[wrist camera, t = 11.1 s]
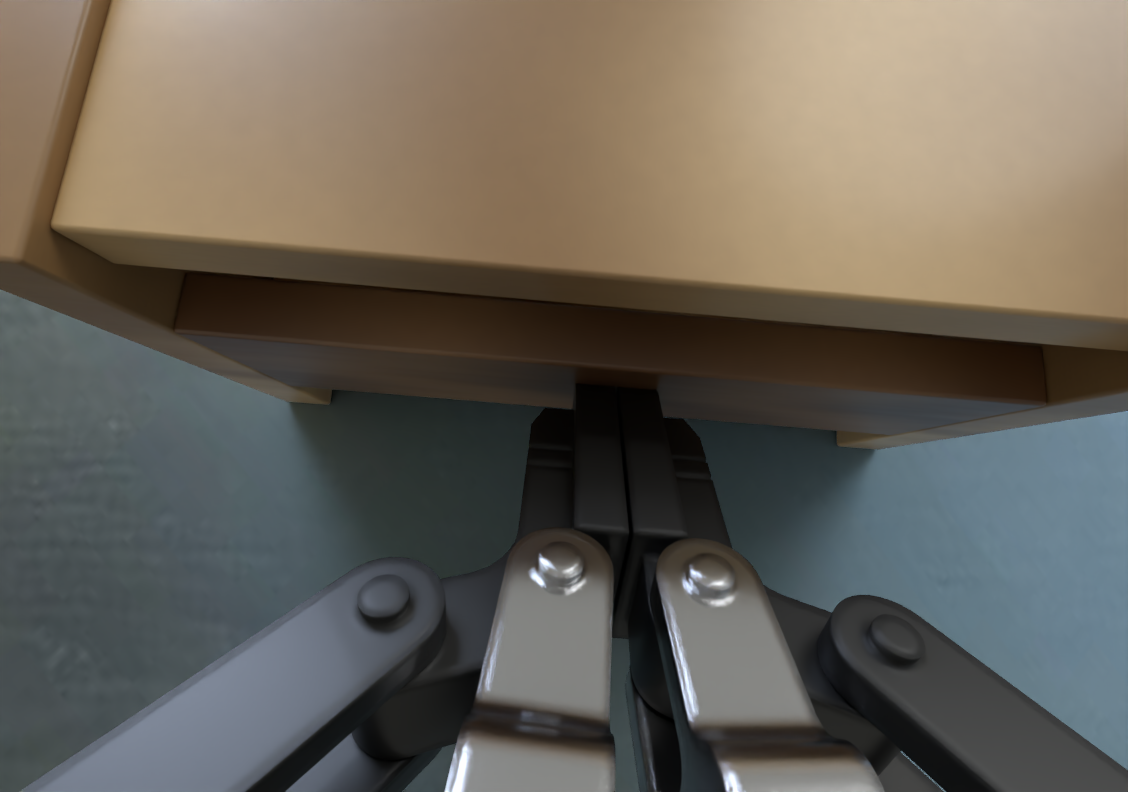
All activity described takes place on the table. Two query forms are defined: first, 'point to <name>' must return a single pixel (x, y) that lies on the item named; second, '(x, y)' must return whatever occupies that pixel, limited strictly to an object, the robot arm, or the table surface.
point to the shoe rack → (590, 200)
